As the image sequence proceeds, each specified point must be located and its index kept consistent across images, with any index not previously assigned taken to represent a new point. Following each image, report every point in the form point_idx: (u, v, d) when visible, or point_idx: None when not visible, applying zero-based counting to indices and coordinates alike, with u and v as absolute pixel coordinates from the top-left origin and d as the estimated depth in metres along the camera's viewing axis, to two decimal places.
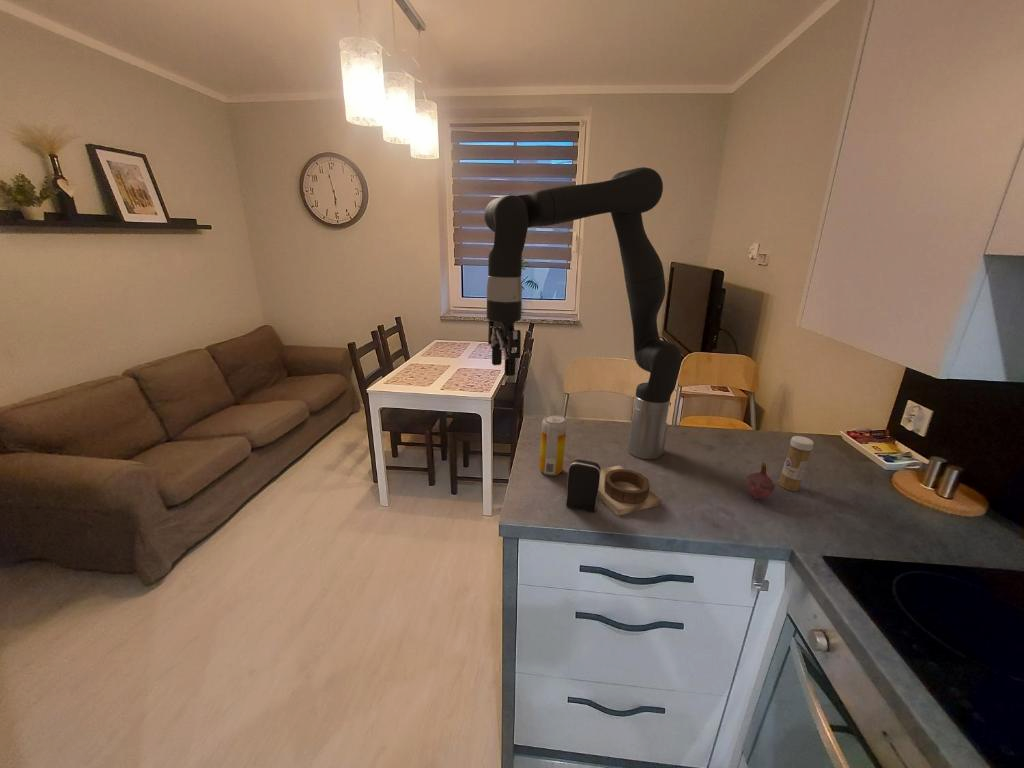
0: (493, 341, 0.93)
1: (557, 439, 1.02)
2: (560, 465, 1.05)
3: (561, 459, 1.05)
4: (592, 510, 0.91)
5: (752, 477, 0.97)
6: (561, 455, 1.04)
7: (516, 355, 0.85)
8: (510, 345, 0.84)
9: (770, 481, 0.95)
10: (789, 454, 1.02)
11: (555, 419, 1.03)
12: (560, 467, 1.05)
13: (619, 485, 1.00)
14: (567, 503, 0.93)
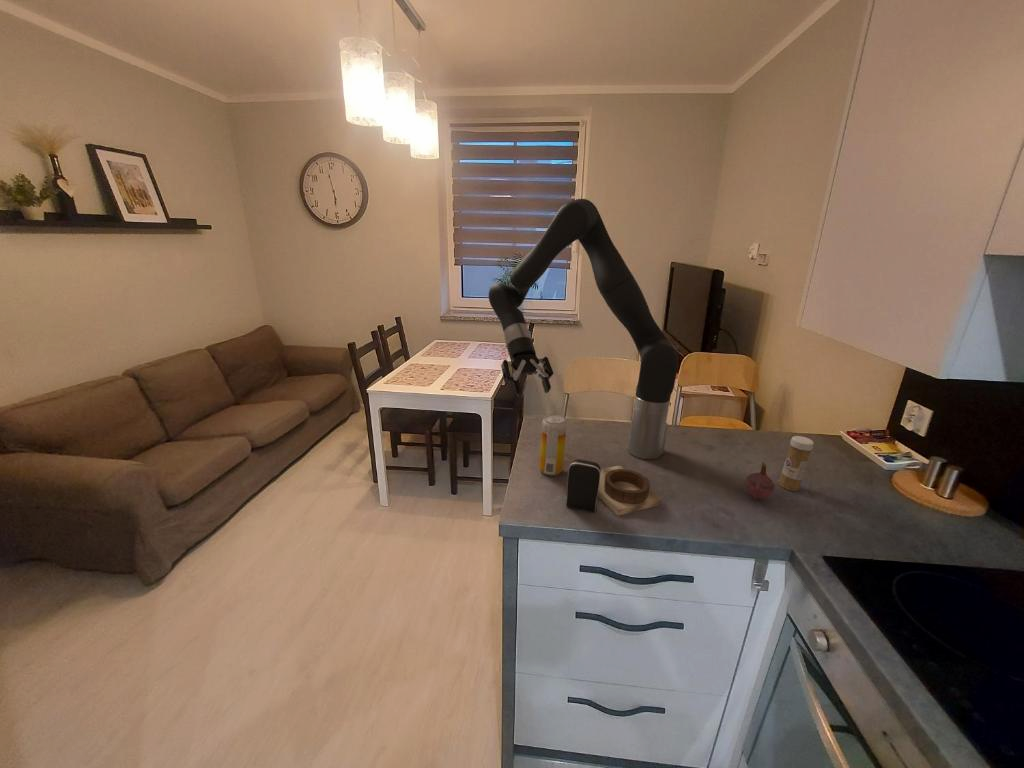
0: (535, 375, 1.16)
1: (557, 439, 1.02)
2: (560, 465, 1.05)
3: (561, 459, 1.05)
4: (592, 510, 0.91)
5: (752, 477, 0.97)
6: (561, 455, 1.04)
7: (505, 378, 1.11)
8: (503, 373, 1.13)
9: (770, 481, 0.95)
10: (789, 454, 1.02)
11: (555, 419, 1.03)
12: (560, 467, 1.05)
13: (619, 485, 1.00)
14: (567, 503, 0.93)
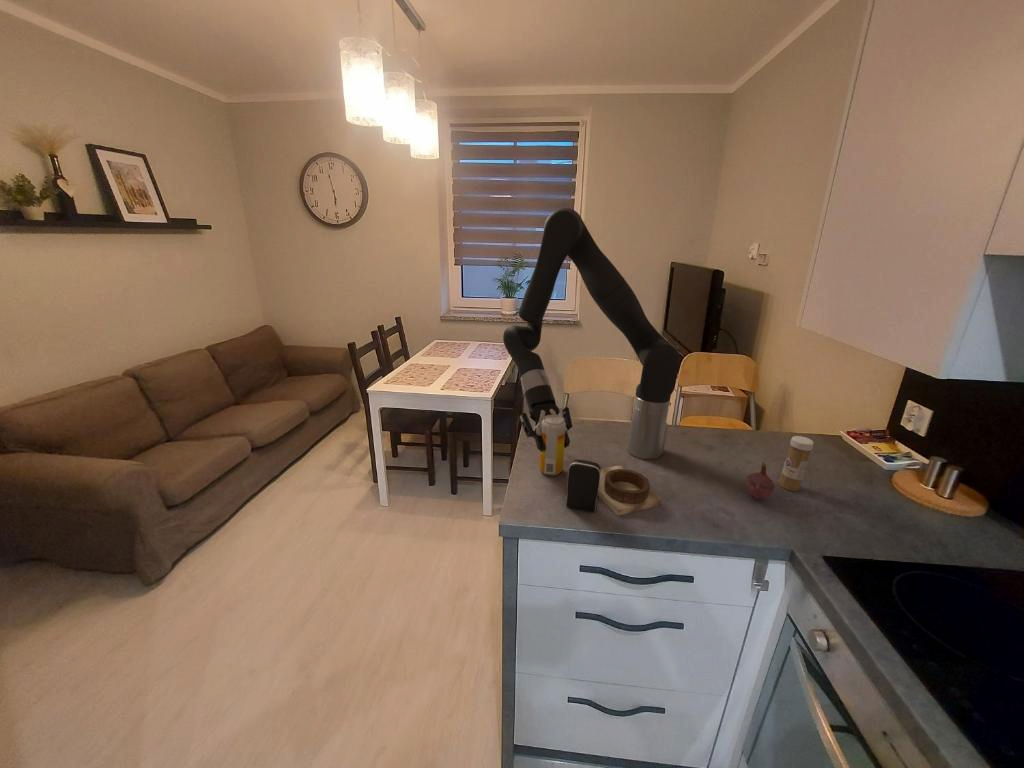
0: None
1: (557, 440, 1.01)
2: (560, 465, 1.05)
3: (561, 459, 1.04)
4: (592, 510, 0.91)
5: (752, 477, 0.97)
6: (561, 455, 1.04)
7: (528, 433, 1.03)
8: (523, 427, 1.05)
9: (770, 481, 0.95)
10: (789, 454, 1.02)
11: (554, 419, 1.02)
12: (560, 467, 1.05)
13: (619, 485, 1.00)
14: (567, 503, 0.93)
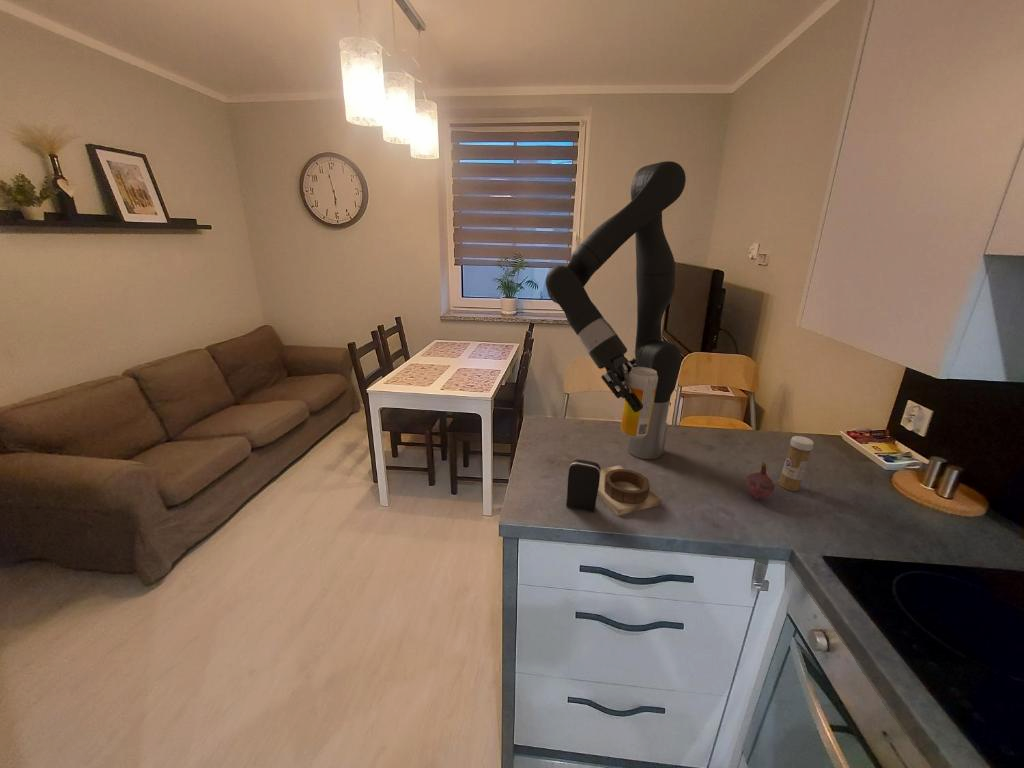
0: None
1: (654, 394, 0.87)
2: None
3: None
4: (592, 510, 0.91)
5: (752, 477, 0.97)
6: None
7: (621, 392, 0.85)
8: (610, 387, 0.86)
9: (770, 481, 0.95)
10: (789, 454, 1.02)
11: (645, 371, 0.87)
12: (649, 426, 0.91)
13: (619, 485, 1.00)
14: (567, 503, 0.93)
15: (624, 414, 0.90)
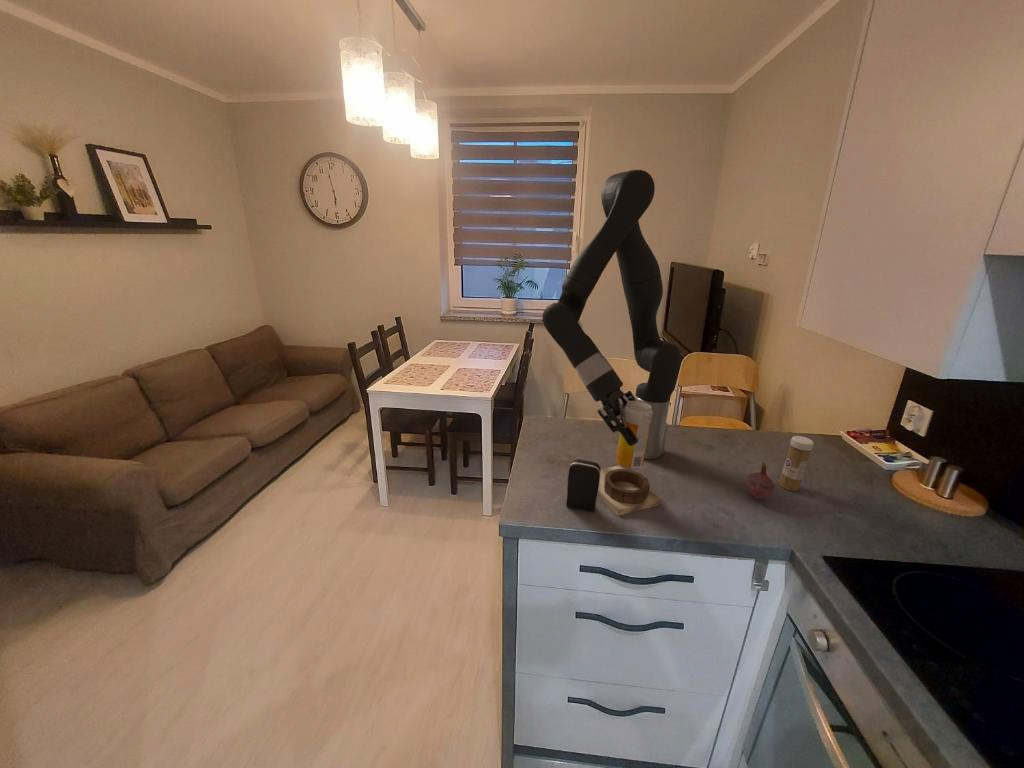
0: None
1: (648, 428, 0.89)
2: (644, 455, 0.93)
3: None
4: (592, 510, 0.91)
5: (752, 477, 0.97)
6: None
7: (616, 427, 0.88)
8: (606, 421, 0.89)
9: (770, 481, 0.95)
10: (789, 454, 1.02)
11: (640, 406, 0.90)
12: None
13: (619, 485, 1.00)
14: (567, 503, 0.93)
15: (619, 446, 0.93)
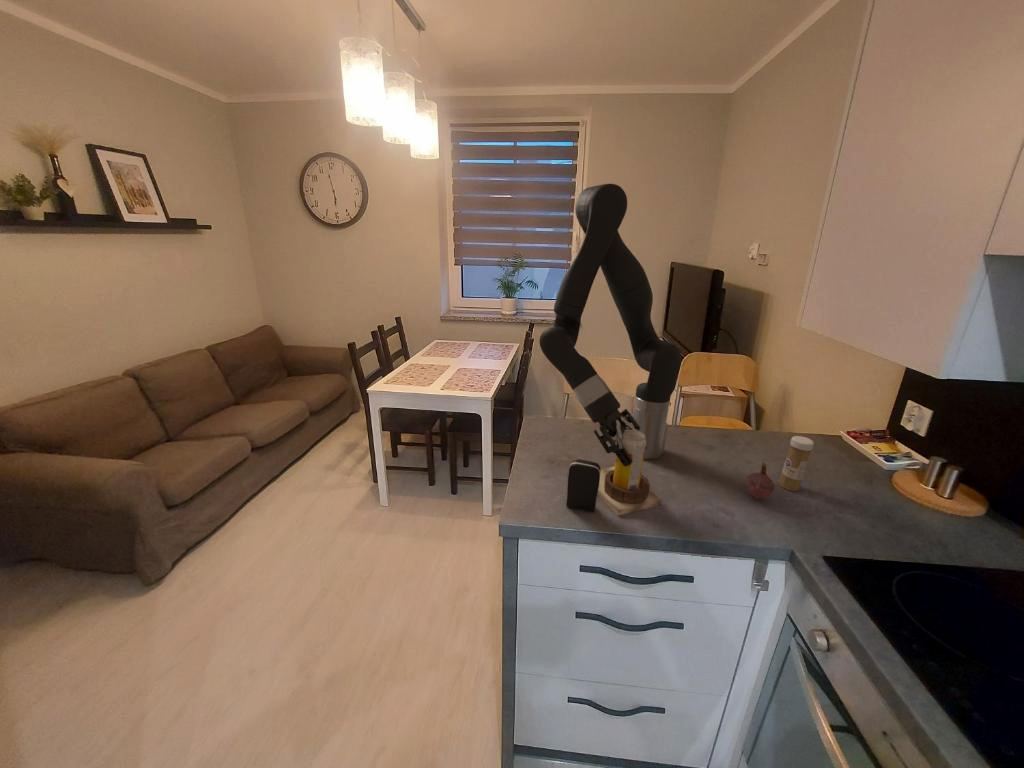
0: None
1: (642, 457, 0.92)
2: (639, 483, 0.95)
3: None
4: (592, 510, 0.91)
5: (752, 477, 0.97)
6: None
7: (611, 448, 0.89)
8: (601, 442, 0.90)
9: (770, 481, 0.95)
10: (789, 454, 1.02)
11: (634, 435, 0.92)
12: None
13: None
14: (567, 503, 0.93)
15: (615, 474, 0.95)
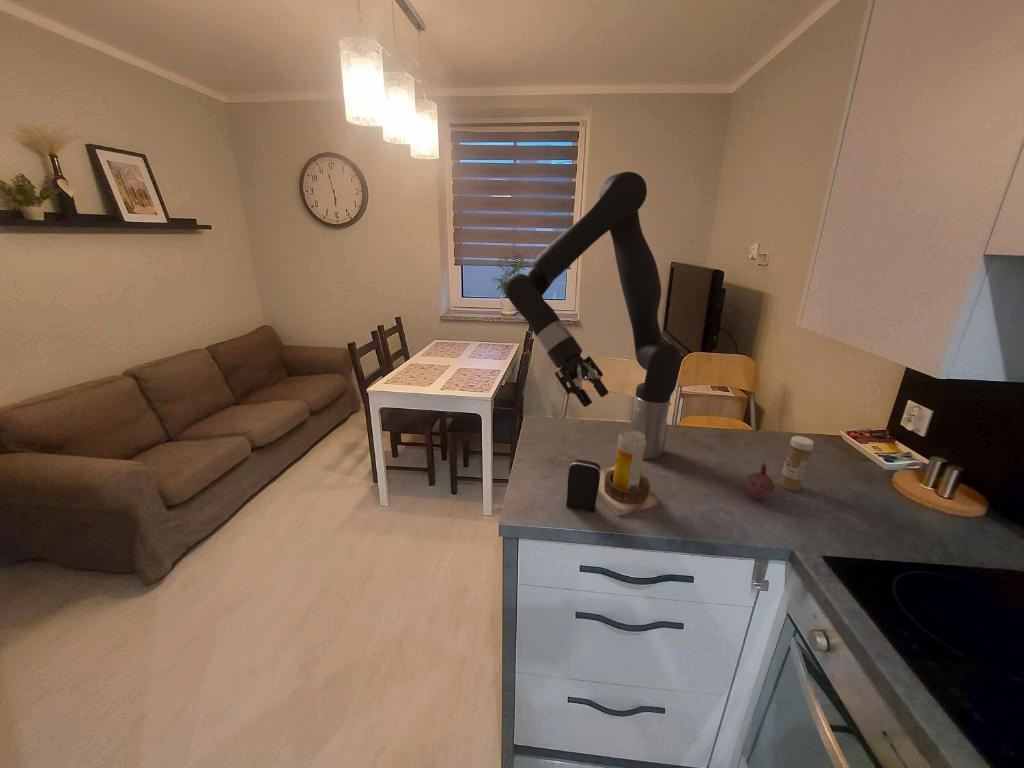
0: (584, 379, 1.00)
1: (642, 457, 0.92)
2: (639, 483, 0.95)
3: None
4: (592, 510, 0.91)
5: (752, 477, 0.97)
6: None
7: (570, 388, 0.91)
8: (561, 383, 0.93)
9: (770, 481, 0.95)
10: (789, 454, 1.02)
11: (634, 435, 0.92)
12: None
13: None
14: (567, 503, 0.93)
15: (615, 474, 0.95)
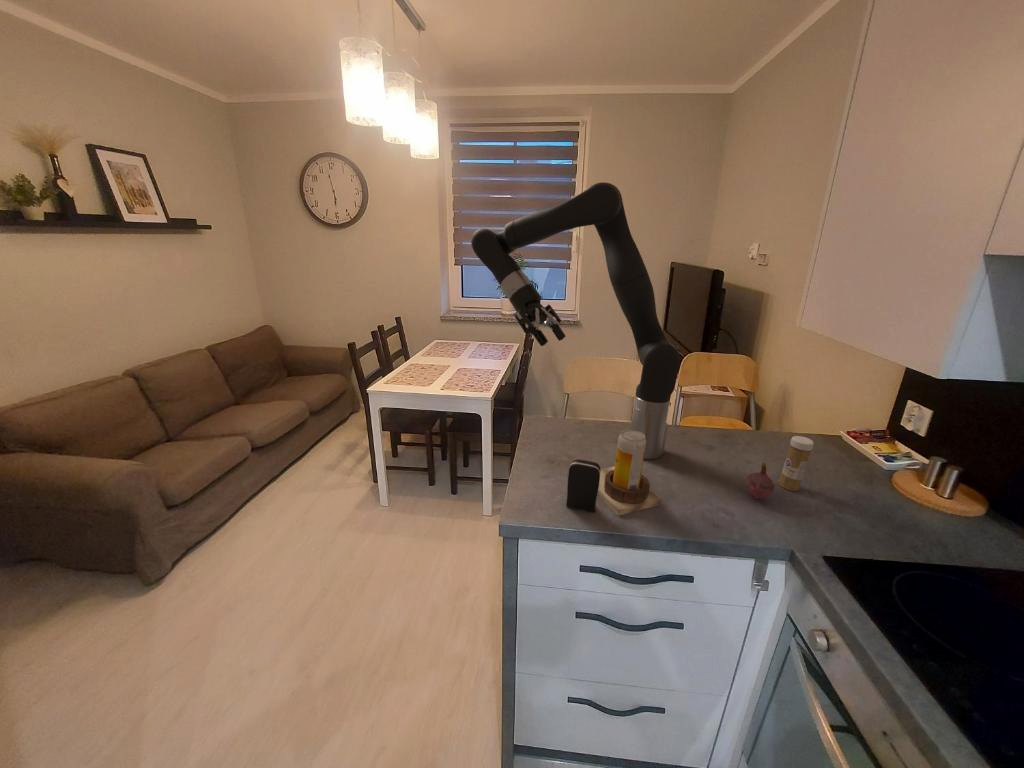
0: (543, 324, 1.10)
1: (642, 457, 0.92)
2: (639, 483, 0.95)
3: None
4: (592, 510, 0.91)
5: (752, 477, 0.97)
6: None
7: (528, 328, 1.01)
8: (520, 324, 1.03)
9: (770, 481, 0.95)
10: (789, 454, 1.02)
11: (634, 435, 0.92)
12: None
13: None
14: (567, 503, 0.93)
15: (615, 474, 0.95)
